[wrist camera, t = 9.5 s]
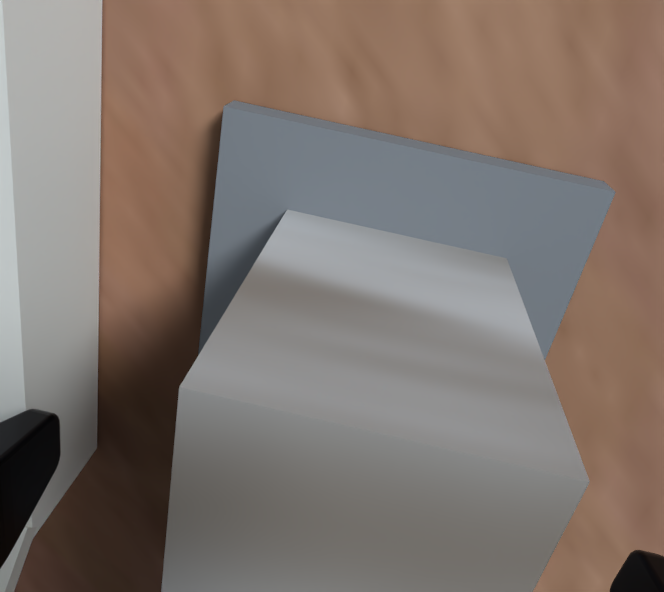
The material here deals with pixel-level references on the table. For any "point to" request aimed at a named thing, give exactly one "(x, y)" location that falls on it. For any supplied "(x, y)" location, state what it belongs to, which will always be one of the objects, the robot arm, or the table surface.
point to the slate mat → (397, 204)
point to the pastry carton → (50, 231)
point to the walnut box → (369, 426)
